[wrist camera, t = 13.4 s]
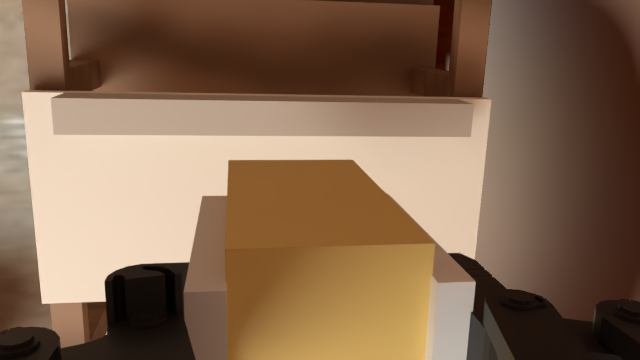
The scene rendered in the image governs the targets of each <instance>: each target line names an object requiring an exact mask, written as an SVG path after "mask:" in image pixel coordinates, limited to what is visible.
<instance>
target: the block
mask: <svg viewBox="0 0 640 360" xmlns="http://www.w3.org/2000/svg"><path fill="white" fill-rule="evenodd" d="M434 252H435V243H434V242H433V241H432V240H431V239H430V238H429V237H428V236H427V235H426V234H425V233H424V232H423V231H422V230H421V229H420V228H419V227H418V226H417V225H416V224H415V223H414V221H413V220H412V219H411V218H410V217H409V216H408V215H407V214H406V213H405V212H404V211H403V210H402V209H401V208H400V207H399V206H398V205H397V204H396V203H395V202H394V201H393V200H392V199H391V198H390V197H389V196H388V195H387V194H386V193H385V192H384V191H383V190H382V189H381V188H380V187H379V186H378V185H377V184H376V183H375V182H374V181H373V180H372V179H371V178H370V177H369V176H368V175H367V174H366V173H365V172H364V171H363V170H362V169H361V168H360V167H359V166H358V164H357V163H356V162H355V161H354V160H228V185H227V211H226V236H225V282H227V344H228V360H425V353H426V340H427V327H428V314H429V301H430V287H431V275H433V265H434Z"/></svg>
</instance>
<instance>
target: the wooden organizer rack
mask: <svg viewBox="0 0 640 360" xmlns="http://www.w3.org/2000/svg"><path fill="white" fill-rule="evenodd" d="M67 5H68V18H69V32H70V45H71V59H72V60H69V53H68V39H67V26H66V13H65V0H22V7H23V18H24V29H25V39H26V50H27V61H28V72H29V83H30V90H49V91H110V92H171V93H232V94H293V95H354V96H415V97H476V98H482V94H483V85H484V75H485V64H486V55H487V45H488V35H489V25H490V16H491V6H492V0H455V6H454V17H453V29H452V40H451V52H450V64H449V71H446V70H441V69H435V64H436V51H437V39H438V26H439V14H440V6H437V5H434V0H67ZM50 311H51V321H52V330H53V331H55V332H56V333H57V334H58V336H59V337H60V344H61V348H64V347H69V346H74V345H79V344H83V343H87V342H90V341H94V340H96V339H99V338H101V337H104V336H105V334H106V332H107V313H106V302H79V303H51V304H50Z"/></svg>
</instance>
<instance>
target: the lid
mask: <svg viewBox="0 0 640 360" xmlns="http://www.w3.org/2000/svg"><path fill="white" fill-rule="evenodd" d="M22 101H23V112H24V122H25V133H26V143H27V153H28V164H29V174H30V185H31V195H32V206H33V216H34V226H35V237H36V247H37V258H38V268H39V278H40V289H41V299H42V304H51V303H79V302H106V298H105V283H104V281H105V279H106V278H107V276H108V275H109V274H111V273H112V272H114V271H116V270H118V269H121V268H124V267H127V266H132V265H138V264H153V263H181V262H190V257H191V252H192V246H193V241H194V236H195V231H196V226H197V221H198V216H199V211H200V205H201V200H202V196H227V185H228V160H354V161H355V162H356V163H357V164H358V166H359V167H360V168H361V169H362V170H363V171H364V172H365V173H366V174H367V175H368V176H369V177H370V178H371V179H372V180H373V181H374V182H375V183H376V184H377V185H378V186H379V187H380V188H381V189H382V190H383V191H384V192H385V193H386V194H389V195H390V196H391V197H392V198H393V199H394V200H395V201H396V202H397V203H398V204H399V205H400V206H401V207H402V208H403V209H404V210H405V211H406V212H407V213H408V214H409V215H410V216H411V217H412V218H413V219H414V220H415V221H416V222H417V223H418V224H419V225H420V226H421V227H422V228H423V229H424V230H425V231H426V232H427V233H428V234H429V235H430V236H431V237H432V238H433V239H434V240H435V241H436V242H437V243H438V244H439V245H440V246H441V247H442V248H443V249H444V250H445V251H446V252H447V253H461V254H463V255H465V256H468V257H470V258H472V259H474V260H475V252H476V243H477V233H478V224H479V214H480V205H481V195H482V186H483V176H484V167H485V157H486V148H487V138H488V129H489V119H490V110H491V101H492V100H491V99H488V98H476V97H415V96H354V95H293V94H232V93H171V92H110V91H49V90H27V91H23V92H22Z"/></svg>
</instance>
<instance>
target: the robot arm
mask: <svg viewBox="0 0 640 360" xmlns="http://www.w3.org/2000/svg"><path fill="white" fill-rule="evenodd" d="M387 195H388V196H389V197H390V198H391V199H392V200H393V201H394V202H395V203H396V204H397V205H398V206H399V207H400V208H401V209H402V210H403V211H404V212H405V213H406V214H407V215H408V216H409V217H410V218H411V219H412V220H413V221H414V223H415V224H416V225H417V226H418V227H419V228H420V229H421V230H422V231H423V232H424V233H425V234H426V235H427V236H428V237H429V238H430V239H431V240H432V241H433V242H434V243H435V252H434V265H433V275H431V287H430V301H429V314H428V327H427V340H426V353H425V360H640V302H638V301H634V300H631V301H629V300H628V299H620V300H605V301H601V302H599V303H598V304H597V305H596V306H595V313H594V320H593V322H591V321H582V320H572V319H565V318H562V317H561V315H560V314H559V313H558V311H557V310H556V309H555V307H554V306H553V305H552V304H551V303H550V302H549V301H548V300H546V299H545V298H543V297H542V296H539V295H536V294H533V293H529V292H526V291H521V290H512V289H506V288H505V287H504V286H503V285H502V284H501V283H499V281H497V280H496V279H495V278H494V277H492V275H491V274H490V273H489V272H488V271H486V270H484V268H483V267H482V266H481V265H480V264H479V263H478V262H477V261H476V260H474V259H472V258H470V257H468V256H465V255H463V254H461V253H447V252H446V251H445V250H444V249H443V248H442V247H441V246H440V245H439V244H438V243H437V242H436V241H435V240H434V239H433V238H432V237H431V236H430V235H429V234H428V233H427V232H426V231H425V230H424V229H423V228H422V227H421V226H420V225H419V224H418V223H417V222H416V221H415V220H414V219H413V218H412V217H411V216H410V215H409V214H408V213H407V212H406V211H405V210H404V209H403V208H402V207H401V206H400V205H399V204H398V203H397V202H396V201H395V200H394V199H393V198H392V197H391V196H390V195H389V194H387ZM226 211H227V196H202V200H201V205H200V211H199V216H198V221H197V226H196V231H195V236H194V241H193V246H192V252H191V257H190V262H181V263H153V264H138V265H132V266H127V267H124V268H121V269H118V270H116V271H114V272H112V273H111V274H109V275H108V276H107V278H106V279H105V281H104V283H105V298H106V313H107V335H105V336H104V337H101V338H99V339H96V340H94V341H90V342H87V343H83V344H79V345H74V346H69V347H64V348H61V344H60V337H59V336H58V334H57V333H56V332H55V331H53V330H50V329H47V328H40V327H26V328H22V327H16V328H11V329H10V330H8V329H7V330H4V331H1V332H0V360H228V344H227V282H225V236H226Z"/></svg>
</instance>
